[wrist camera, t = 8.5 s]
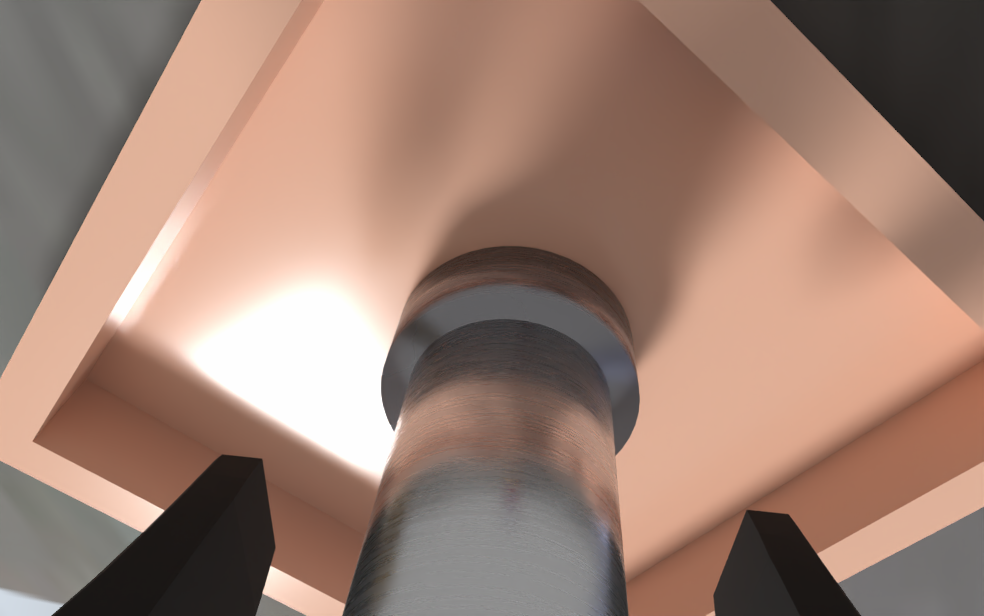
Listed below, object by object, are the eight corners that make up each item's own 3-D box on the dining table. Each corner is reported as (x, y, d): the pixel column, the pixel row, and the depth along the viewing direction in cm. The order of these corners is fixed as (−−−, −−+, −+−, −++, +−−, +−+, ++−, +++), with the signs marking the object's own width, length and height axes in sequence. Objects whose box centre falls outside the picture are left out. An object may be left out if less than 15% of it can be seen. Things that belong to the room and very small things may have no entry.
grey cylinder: (662, 271, 13) (765, 735, 6) (601, 452, 15) (628, 921, 9) (408, 225, 13) (240, 645, 6) (389, 415, 15) (255, 860, 9)
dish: (1073, 322, 14) (1166, 410, 11) (546, 644, 21) (545, 736, 18) (438, -331, 9) (402, -380, 7) (42, 364, 16) (-34, 443, 14)
